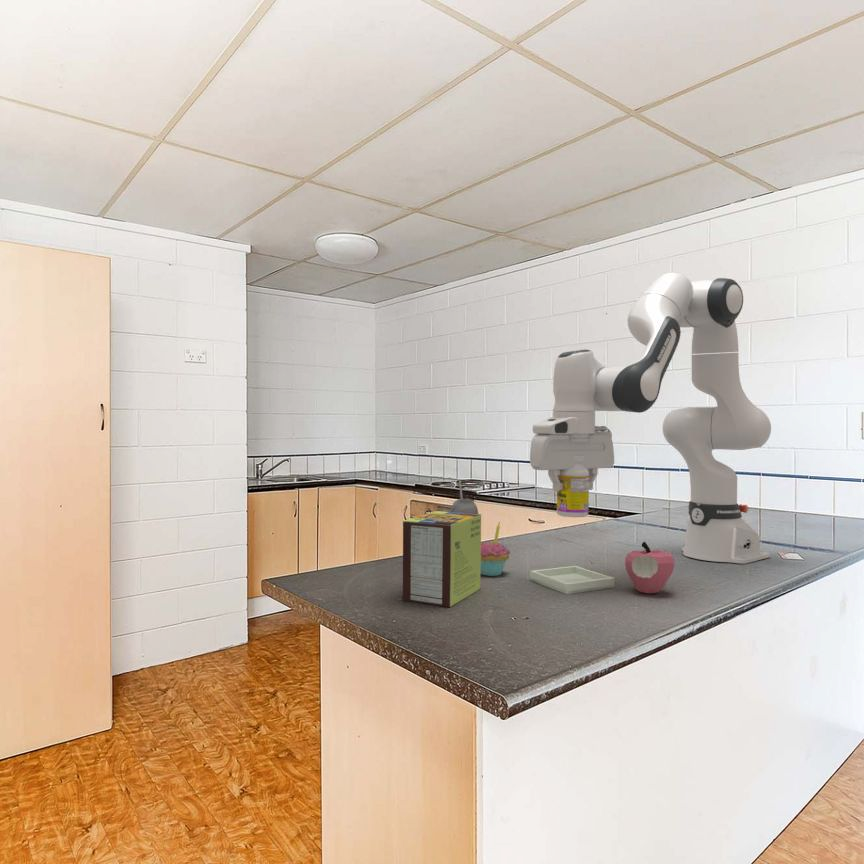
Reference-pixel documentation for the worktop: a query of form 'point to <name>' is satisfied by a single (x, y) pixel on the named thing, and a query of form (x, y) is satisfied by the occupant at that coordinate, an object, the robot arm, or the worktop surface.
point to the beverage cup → (464, 504)
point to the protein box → (441, 557)
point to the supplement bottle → (574, 490)
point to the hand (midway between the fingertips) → (572, 490)
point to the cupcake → (493, 556)
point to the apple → (649, 569)
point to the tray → (572, 579)
